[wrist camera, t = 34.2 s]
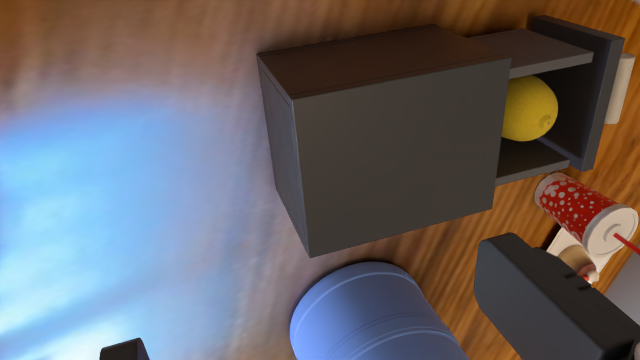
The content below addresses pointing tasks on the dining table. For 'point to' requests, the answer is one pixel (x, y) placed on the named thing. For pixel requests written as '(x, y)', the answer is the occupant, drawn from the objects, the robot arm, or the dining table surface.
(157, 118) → the dining table surface
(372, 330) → the water jug
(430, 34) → the dark drawer cabinet
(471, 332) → the dining table surface
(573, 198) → the beverage cup
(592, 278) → the dessert
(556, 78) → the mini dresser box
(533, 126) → the lemon
